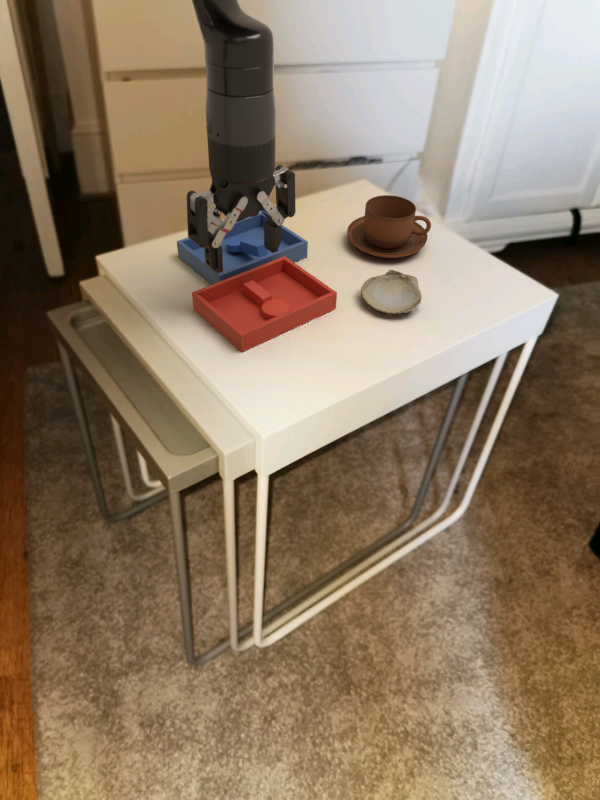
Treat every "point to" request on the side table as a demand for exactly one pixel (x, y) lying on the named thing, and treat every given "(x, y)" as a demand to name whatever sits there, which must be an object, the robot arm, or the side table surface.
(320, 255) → the side table surface
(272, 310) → the red spoon
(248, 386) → the side table surface
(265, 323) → the red tray
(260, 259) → the blue tray
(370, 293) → the seashell
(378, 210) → the cup and saucer
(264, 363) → the side table surface
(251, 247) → the blue spoon
